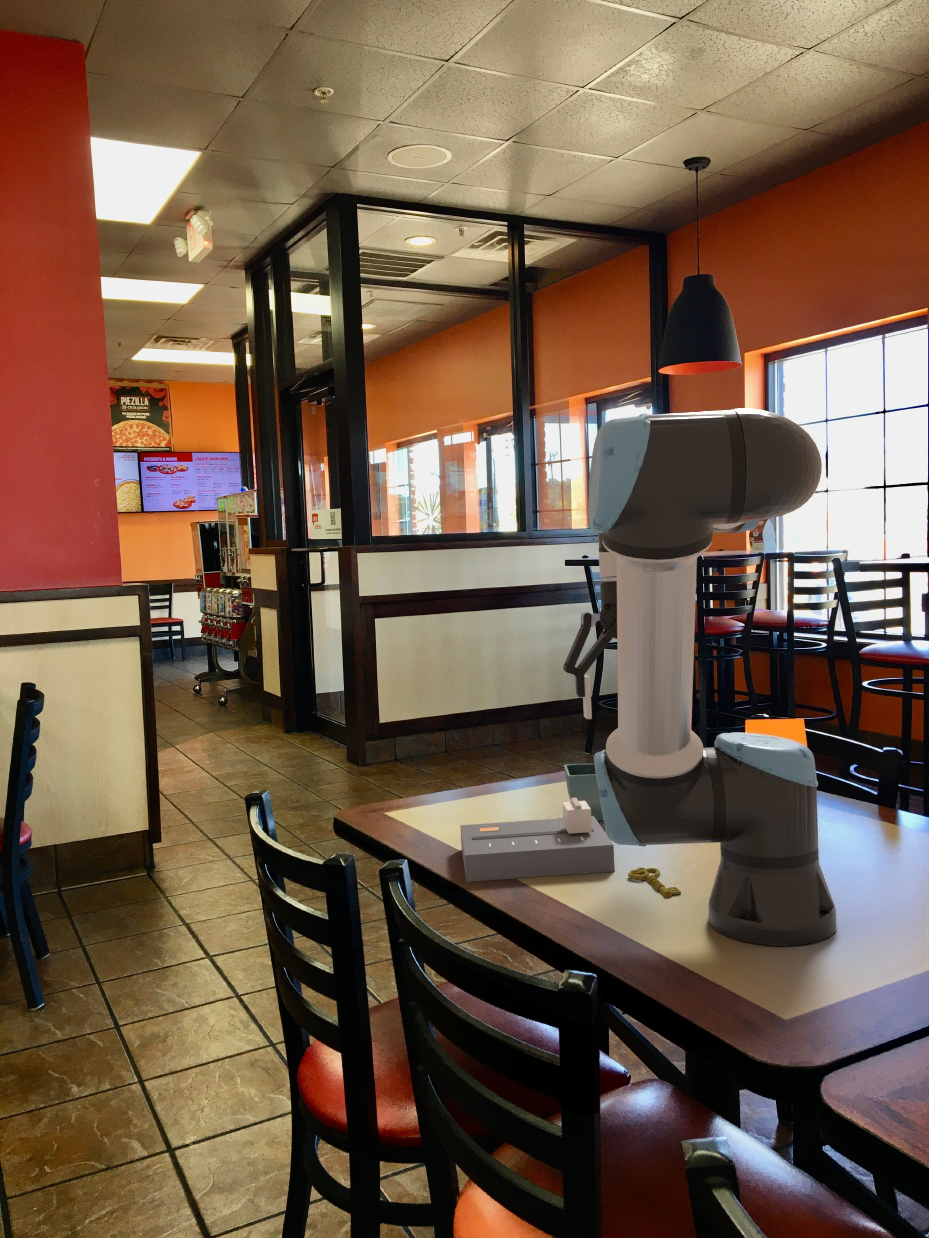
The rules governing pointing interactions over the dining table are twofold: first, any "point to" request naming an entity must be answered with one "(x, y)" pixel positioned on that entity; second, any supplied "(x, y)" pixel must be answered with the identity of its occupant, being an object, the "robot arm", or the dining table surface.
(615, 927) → the dining table surface
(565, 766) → the flower pot
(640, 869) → the key
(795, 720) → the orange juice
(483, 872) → the dimmer console
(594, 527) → the robot arm
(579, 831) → the slider cap
